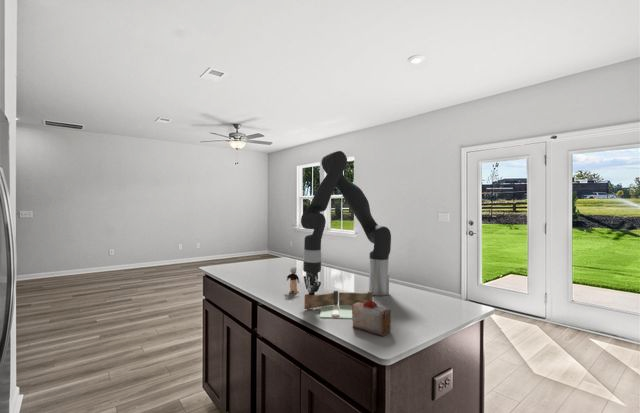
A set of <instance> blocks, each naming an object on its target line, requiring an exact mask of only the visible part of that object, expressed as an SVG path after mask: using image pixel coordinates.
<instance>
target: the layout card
mask: <svg viewBox="0 0 640 413" xmlns="http://www.w3.org/2000/svg"><path fill="white" fill-rule="evenodd" d="M319 318H320V319H341V318H343V319H345V320H346V319H347V320H352V319H353V318H352V306H347V305H339V300H338V304H337V305H329V306H323V307H320V314H319Z"/></svg>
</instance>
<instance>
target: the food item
mask: <svg viewBox="0 0 640 413" xmlns="http://www.w3.org/2000/svg"><path fill="white" fill-rule="evenodd" d="M391 314H392V310H391V309H390V308H387V307H383V306H378V304H377V302H376V300H375V299H374V300H373V302H371V301H368V302H365V303H361V302H358V303H355V304H354V305H352V318H353V319H351V320H352V328H354V329H358V330H363V331H366V332H369V333H372V334H374V335H378V336H381V337H385V336H387V335H388V334H390V333H391V323H392V322H391V319H392V318H391V317H392V316H391Z"/></svg>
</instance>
